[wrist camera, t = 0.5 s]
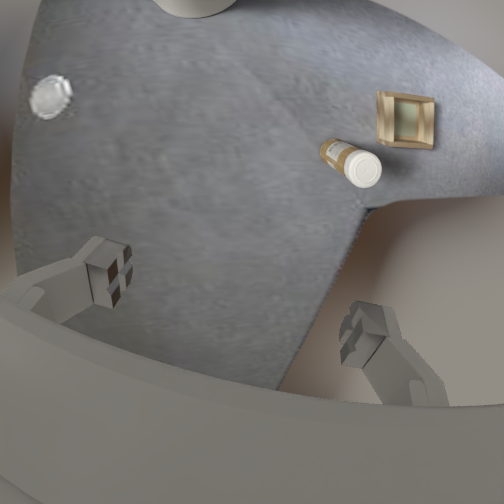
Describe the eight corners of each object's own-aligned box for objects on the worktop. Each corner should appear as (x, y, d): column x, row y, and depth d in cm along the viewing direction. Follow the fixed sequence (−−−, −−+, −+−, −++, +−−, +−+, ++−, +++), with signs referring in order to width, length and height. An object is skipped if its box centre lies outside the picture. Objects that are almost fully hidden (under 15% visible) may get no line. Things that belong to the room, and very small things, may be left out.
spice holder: (376, 91, 41) (389, 91, 37) (419, 97, 41) (434, 98, 37) (376, 142, 45) (389, 146, 41) (418, 144, 45) (432, 149, 41)
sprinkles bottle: (324, 169, 47) (354, 193, 35) (315, 142, 45) (344, 158, 33) (349, 160, 46) (386, 182, 35) (341, 134, 44) (378, 147, 33)
